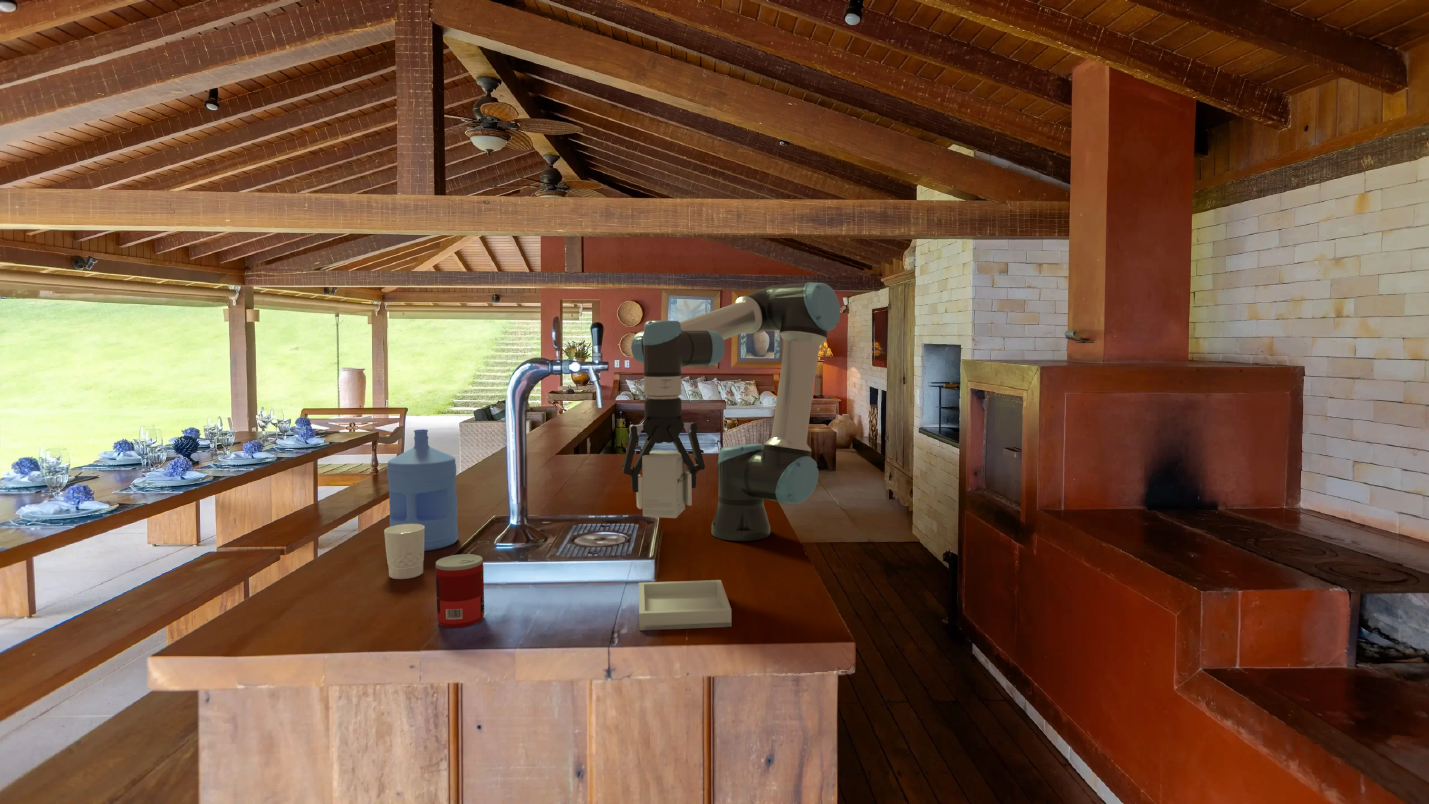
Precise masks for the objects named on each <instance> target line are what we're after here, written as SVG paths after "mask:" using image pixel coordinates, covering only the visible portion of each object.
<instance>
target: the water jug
mask: <svg viewBox="0 0 1429 804" xmlns="http://www.w3.org/2000/svg"><path fill="white" fill-rule="evenodd" d="M428 432H429V429H426V428H425V429H424V428H423V429H415V430H413V433H414V436H413V440H414V446H413V447H412V448H410V449H408V450H405V451H404V452H402V453H401V454H399V455H396V456H395V457H393V458H390V459H389V460H388V461H387V468H386V471H387V472H386V476H387V483H388V495H389V502H388V503H389V527H391V526H395V525H401V524H420V525H423V526H424V527H425V532H424V552H427V551H434V550H439V549H443V548H446V547H449V546H451V545H454V544H455V543H456V542H457V541H458V539H459V529H458V497H457V464H456V458H455V457H454V456H453V455H450V454H449V453H446V452H443V451H440V450H438V449H435V448H433V447H431V446H430V445H429V435H428Z"/></svg>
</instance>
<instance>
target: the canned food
mask: <svg viewBox="0 0 1429 804" xmlns="http://www.w3.org/2000/svg"><path fill="white" fill-rule="evenodd" d="M484 576H485V575H484V559H483V557H482V556H481V555H477V554H472V553H464V554H463V553H462V554H453V555H452V554H451V555H449V556H444V557H441V558H439V559H438V560H436V561H435V592H436V596H435V597H436V616H437V617H436V619H437V622H438V625H439V626H441V627H442V628H448V629H460V628H466V627H470V626H474V625H476V624H478V623H480V622H481V621H482V620H483V619H484V616H485V587H484V586H485V584H484V583H485V581H484V580H485V577H484Z"/></svg>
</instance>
